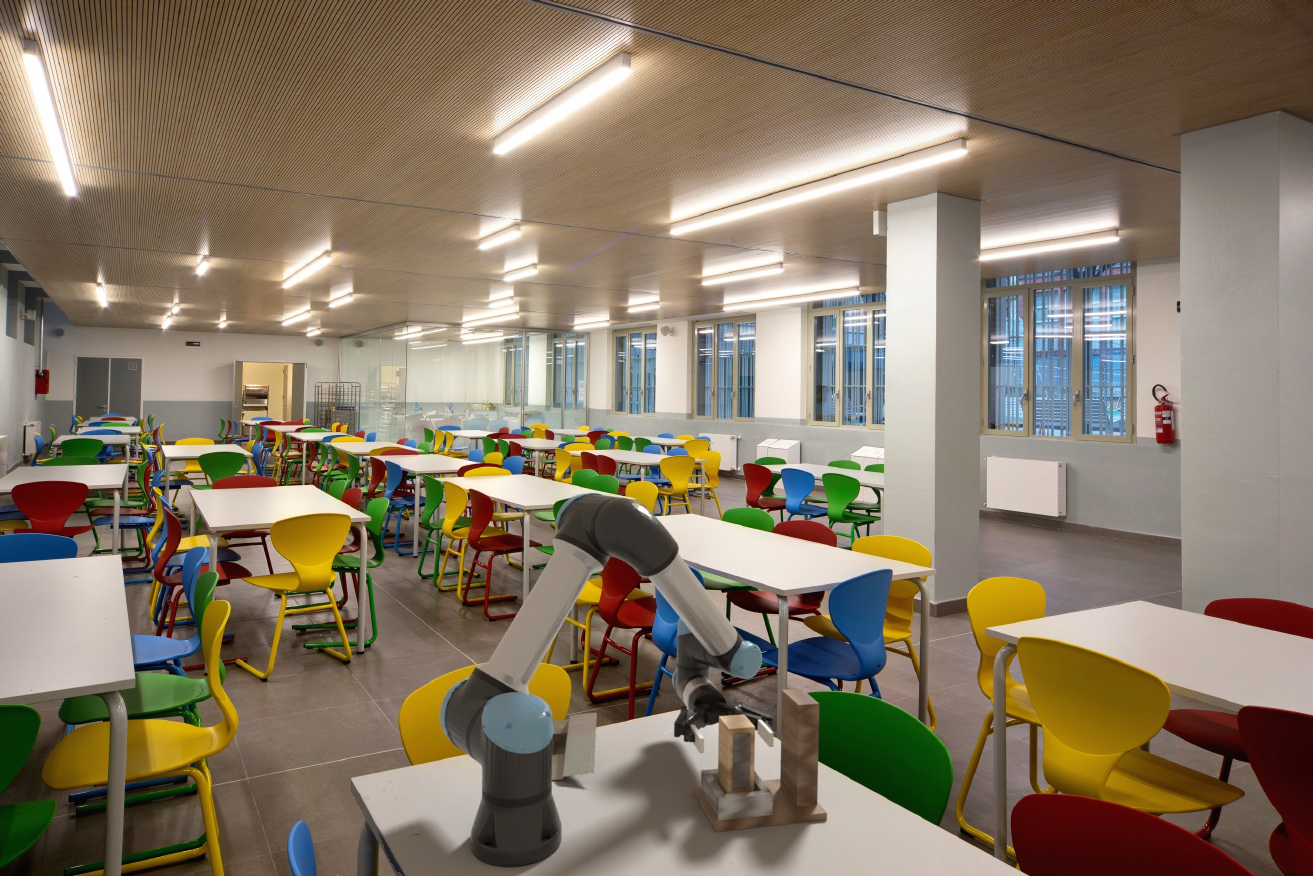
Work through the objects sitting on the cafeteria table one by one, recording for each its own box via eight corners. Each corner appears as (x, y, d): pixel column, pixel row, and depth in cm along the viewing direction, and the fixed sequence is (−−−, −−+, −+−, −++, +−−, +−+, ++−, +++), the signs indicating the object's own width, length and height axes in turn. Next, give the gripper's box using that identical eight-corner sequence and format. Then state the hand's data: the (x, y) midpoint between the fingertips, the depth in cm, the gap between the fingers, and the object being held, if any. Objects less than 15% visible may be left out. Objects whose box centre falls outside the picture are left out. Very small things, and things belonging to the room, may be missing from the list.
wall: (604, 792, 154) (605, 722, 165) (595, 773, 149) (597, 702, 160) (525, 800, 156) (531, 730, 167) (513, 782, 150) (520, 711, 161)
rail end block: (727, 812, 137) (729, 729, 136) (717, 795, 143) (718, 716, 143) (754, 809, 138) (755, 727, 137) (742, 793, 144) (744, 714, 144)
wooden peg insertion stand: (715, 832, 132) (717, 718, 132) (693, 793, 146) (695, 690, 145) (826, 819, 137) (829, 709, 137) (795, 783, 151) (797, 683, 150)
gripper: (759, 715, 165) (799, 757, 144) (647, 723, 159) (671, 768, 138) (760, 680, 164) (800, 718, 144) (648, 688, 159) (672, 728, 138)
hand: (737, 743), depth 141 cm, fingers open, 13 cm apart
